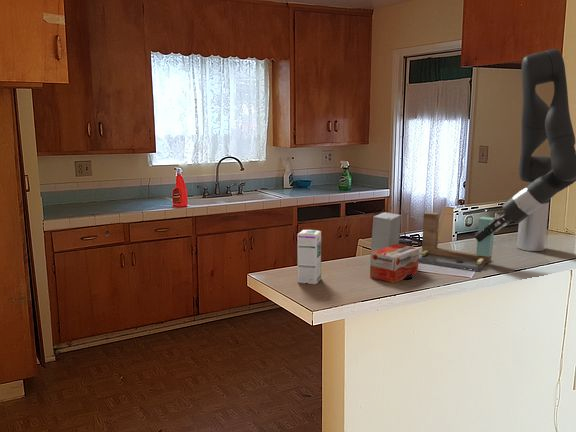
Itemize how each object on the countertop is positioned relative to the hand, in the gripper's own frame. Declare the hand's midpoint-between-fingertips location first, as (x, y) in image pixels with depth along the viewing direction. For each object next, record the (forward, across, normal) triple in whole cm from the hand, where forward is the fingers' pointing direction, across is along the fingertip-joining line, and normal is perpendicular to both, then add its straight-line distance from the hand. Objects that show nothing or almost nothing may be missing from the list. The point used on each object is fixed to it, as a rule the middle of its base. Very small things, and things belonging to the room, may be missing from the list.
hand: (479, 237), depth 174 cm
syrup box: (+31, +48, -19) cm, 60 cm away
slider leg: (+3, +2, +6) cm, 7 cm away
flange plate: (+12, +2, 0) cm, 12 cm away
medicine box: (+18, +28, -6) cm, 34 cm away
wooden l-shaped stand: (+10, +2, 0) cm, 10 cm away
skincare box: (+24, +17, -12) cm, 32 cm away
